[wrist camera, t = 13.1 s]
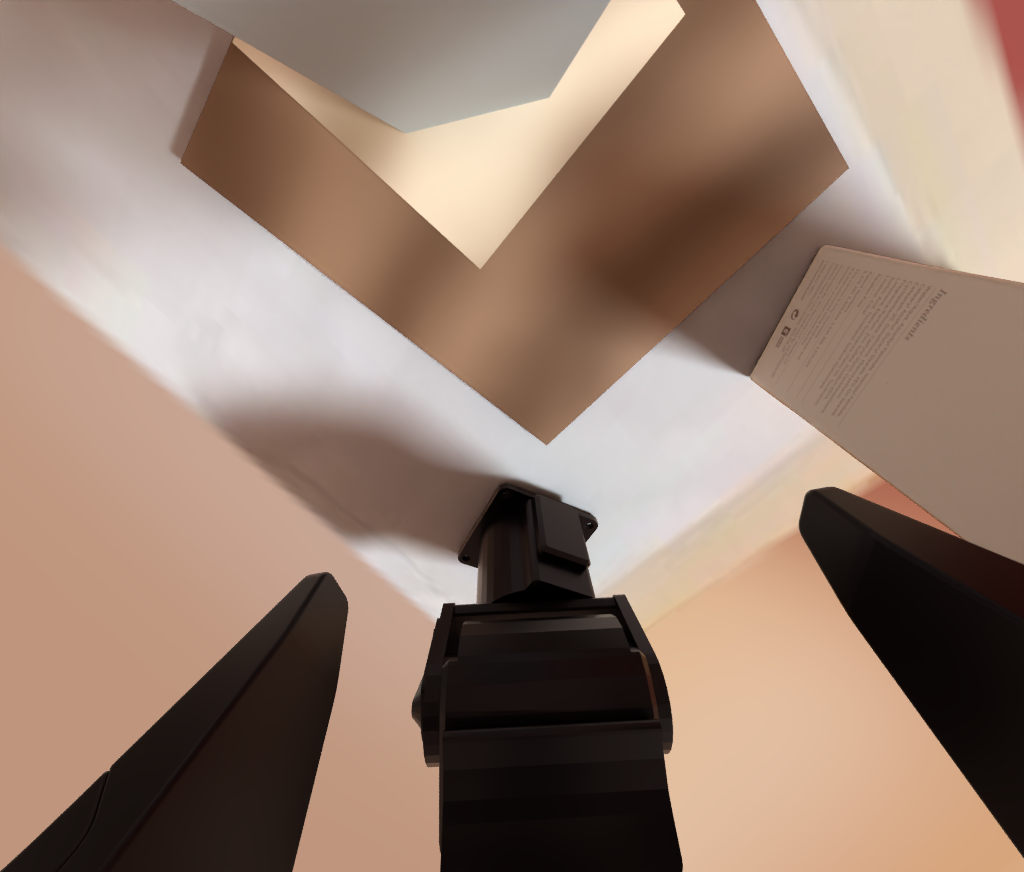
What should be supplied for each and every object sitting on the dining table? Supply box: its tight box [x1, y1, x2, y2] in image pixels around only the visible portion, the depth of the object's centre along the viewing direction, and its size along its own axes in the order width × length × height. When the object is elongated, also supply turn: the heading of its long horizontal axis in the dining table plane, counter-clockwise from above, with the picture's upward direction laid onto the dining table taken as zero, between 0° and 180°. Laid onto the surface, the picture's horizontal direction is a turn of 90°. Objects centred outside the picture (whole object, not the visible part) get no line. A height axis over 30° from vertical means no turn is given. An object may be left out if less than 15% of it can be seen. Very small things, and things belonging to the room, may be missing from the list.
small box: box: [750, 245, 1024, 564], centre depth 14 cm, size 8×6×13 cm
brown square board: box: [180, 0, 849, 445], centre depth 15 cm, size 18×16×1 cm
